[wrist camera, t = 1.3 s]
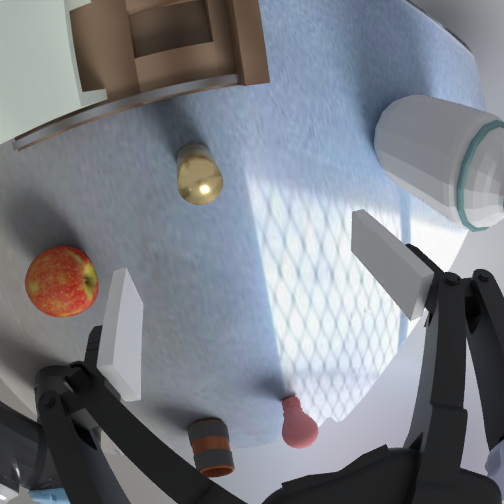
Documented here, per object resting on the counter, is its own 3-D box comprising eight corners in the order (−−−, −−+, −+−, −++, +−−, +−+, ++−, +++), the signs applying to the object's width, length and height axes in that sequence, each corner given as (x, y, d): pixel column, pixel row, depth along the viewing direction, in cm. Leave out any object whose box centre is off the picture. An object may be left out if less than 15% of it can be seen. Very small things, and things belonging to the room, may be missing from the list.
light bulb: (264, 403, 58) (280, 452, 48) (291, 386, 57) (311, 436, 47) (284, 410, 62) (300, 455, 52) (309, 394, 61) (329, 439, 51)
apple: (108, 283, 35) (99, 328, 29) (53, 292, 34) (37, 336, 28) (87, 227, 31) (69, 266, 25) (30, 241, 30) (5, 280, 23)
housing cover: (25, 132, 21) (-20, 155, 14) (7, 33, 15) (-41, 27, 8) (107, 99, 22) (81, 107, 15) (90, -7, 16) (61, -34, 9)
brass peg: (181, 179, 31) (183, 209, 25) (173, 146, 29) (173, 168, 23) (214, 171, 32) (226, 199, 25) (208, 138, 30) (218, 157, 23)
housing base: (30, 144, 24) (2, 161, 19) (8, 30, 17) (-23, 25, 11) (251, 81, 27) (269, 82, 22) (232, -38, 20) (247, -62, 14)
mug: (185, 440, 61) (192, 483, 52) (188, 418, 56) (196, 467, 46) (221, 438, 64) (230, 480, 54) (229, 416, 58) (240, 464, 49)
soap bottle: (383, 197, 38) (564, 363, 13) (348, 118, 32) (618, 271, 6) (442, 152, 37) (619, 270, 11) (417, 75, 30) (650, 165, 4)
